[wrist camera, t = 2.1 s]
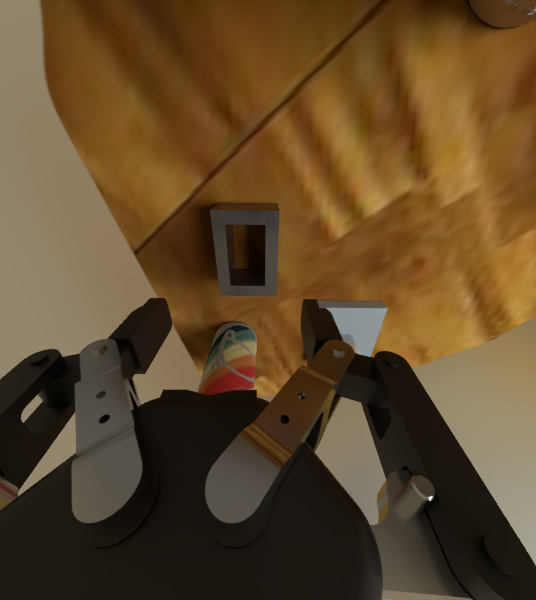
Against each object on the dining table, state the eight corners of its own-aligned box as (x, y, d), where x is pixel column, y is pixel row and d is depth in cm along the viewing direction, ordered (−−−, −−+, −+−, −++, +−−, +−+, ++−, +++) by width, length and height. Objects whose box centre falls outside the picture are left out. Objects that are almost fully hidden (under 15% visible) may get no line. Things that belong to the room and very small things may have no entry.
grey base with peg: (316, 300, 27) (332, 346, 20) (381, 301, 27) (419, 347, 20) (308, 358, 32) (318, 410, 26) (362, 359, 33) (387, 411, 26)
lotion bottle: (250, 316, 29) (223, 544, 12) (261, 348, 31) (253, 567, 14) (209, 325, 29) (126, 550, 12) (224, 355, 32) (173, 571, 15)
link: (219, 202, 21) (210, 210, 18) (277, 203, 21) (279, 211, 18) (226, 277, 26) (220, 295, 22) (275, 278, 26) (276, 295, 22)
